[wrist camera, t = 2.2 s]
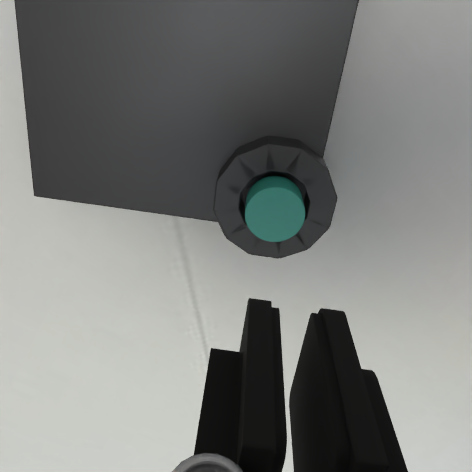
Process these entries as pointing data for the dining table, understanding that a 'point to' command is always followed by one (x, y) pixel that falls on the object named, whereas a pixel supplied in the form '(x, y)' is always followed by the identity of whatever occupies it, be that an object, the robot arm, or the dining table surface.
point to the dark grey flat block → (184, 105)
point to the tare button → (274, 209)
